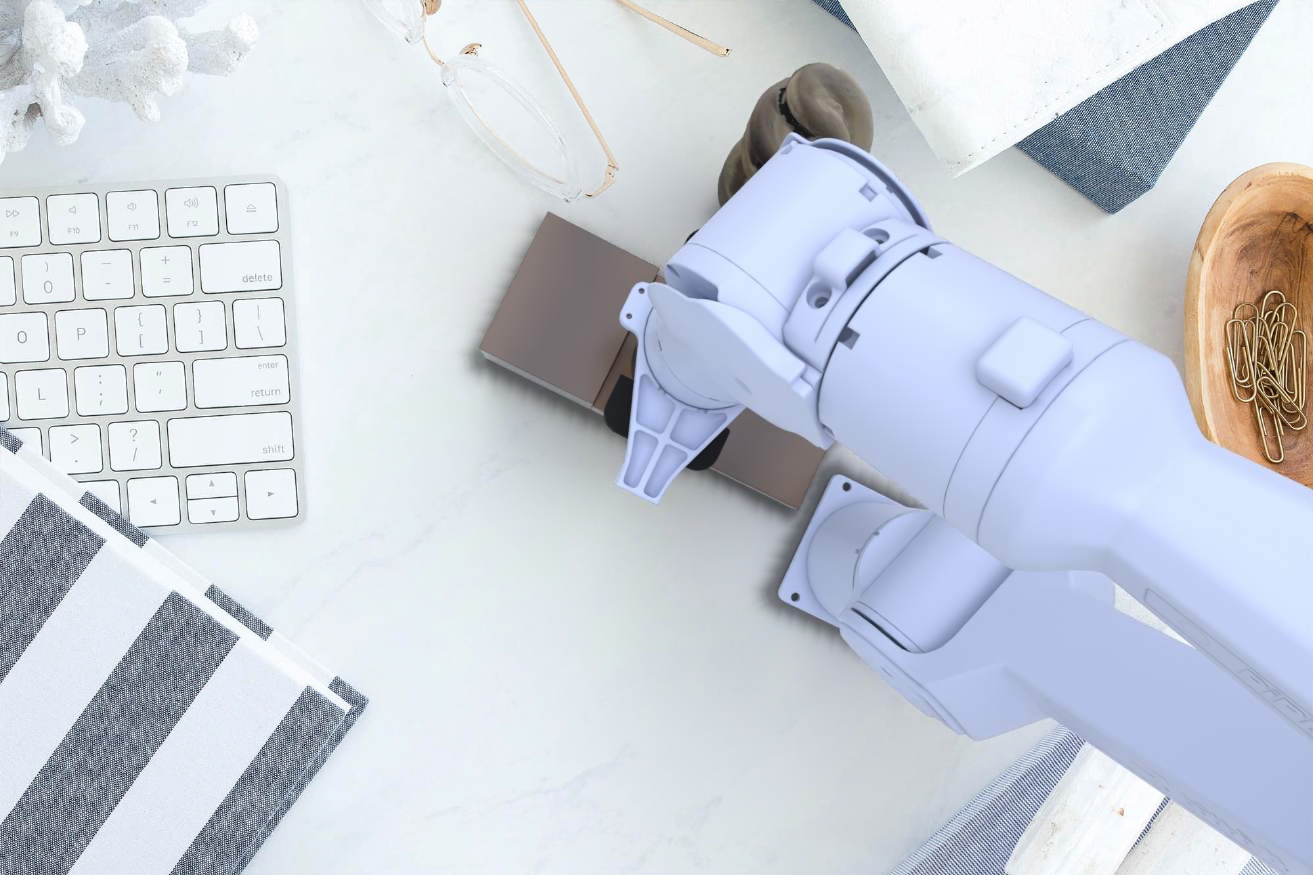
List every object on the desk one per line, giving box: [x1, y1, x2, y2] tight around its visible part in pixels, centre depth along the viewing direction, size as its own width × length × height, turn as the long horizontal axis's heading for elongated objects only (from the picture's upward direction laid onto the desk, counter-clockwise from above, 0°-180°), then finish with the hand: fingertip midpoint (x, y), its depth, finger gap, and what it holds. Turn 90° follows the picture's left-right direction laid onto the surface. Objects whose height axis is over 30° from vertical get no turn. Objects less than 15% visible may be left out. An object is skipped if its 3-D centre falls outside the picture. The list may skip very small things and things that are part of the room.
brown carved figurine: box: [717, 61, 875, 209], centre depth 46 cm, size 6×6×15 cm
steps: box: [478, 211, 827, 510], centre depth 50 cm, size 20×8×4 cm, turn 64°
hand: (681, 363), depth 48 cm, fingers closed on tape, 5 cm apart
